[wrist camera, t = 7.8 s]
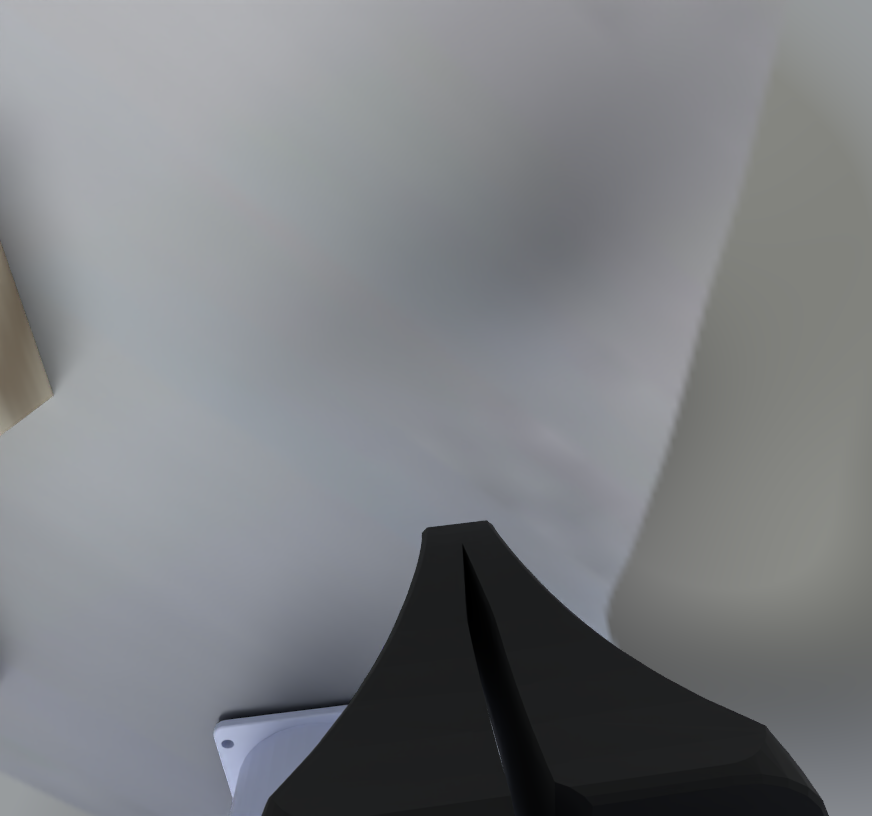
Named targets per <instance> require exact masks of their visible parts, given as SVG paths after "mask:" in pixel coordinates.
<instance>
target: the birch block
mask: <svg viewBox="0 0 872 816" xmlns="http://www.w3.org/2000/svg"><path fill="white" fill-rule="evenodd" d="M53 396H54V395H53V392H52V389H51V386H50V383H49V380H48V377H47V375H46V372H45V369H44V366H43V363H42V360H41V357H40V354H39V351H38V349H37V346H36V343H35V340H34V337H33V334H32V331H31V328H30V325H29V323H28V320H27V317H26V314H25V311H24V308H23V305H22V302H21V299H20V297H19V294H18V291H17V288H16V285H15V282H14V279H13V276H12V273H11V271H10V268H9V265H8V262H7V259H6V256H5V253H4V250H3V247H2V244H1V242H0V436H1V435H2V434H4V433H5V432H6V431H8V430H9V429H10V428H12V427H13V426H14V425H16V424H17V423H18V422H20V421H21V420H22V419H23V418H25V417H26V416H27V415H29V414H30V413H31V412H33V411H34V410H35V409H37V408H38V407H39V406H41V405H42V404H43V403H45V402H46V401H47V400H49V399H50V398H51V397H53Z"/></svg>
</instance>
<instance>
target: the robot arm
mask: <svg viewBox="0 0 872 816" xmlns="http://www.w3.org/2000/svg"><path fill="white" fill-rule="evenodd" d="M487 709H488V710H487ZM488 713H489V714H488ZM489 717H490V718H489ZM490 720H491V722H490ZM491 724H492V726H491ZM492 727H493V730H492ZM493 731H494V733H493ZM494 735H495V737H494ZM213 736H214V740H215V743H216V746H217V749H218V753H219V756H220V759H221V762H222V765H223V769H224V772H225V775H226V778H227V782H228V785H229V788H230V791H231V794H232V798H233V801H232V806H231V810H230V815H229V816H829V815H828V813H827V810H826V808H825V805H824V803H823V800H822V799H821V798H820V796H819V794H818V793H817V791H816V790H815V789H814V787H813V786H812V784H811V783H810V781H809V780H808V779H807V777H806V775H805V774H804V773H803V771H802V770H801V769H800V767H799V766H798V765H797V764H796V762H795V761H794V760H793V758H792V757H791V756H790V754H789V753H788V752H787V751H786V750H785V749H784V748H783V746H782V745H781V744H780V743H779V741H778V740H777V739H776V738H775V737H774V736H773V734H772V733H771V732H770V731H769V729H768V728H767V727H766V726H765V725H763V724H760V723H758V722H756V721H754V720H752V719H750V718H747V717H745V716H743V715H741V714H738V713H736V712H734V711H732V710H729V709H727V708H725V707H723V706H720V705H718V704H716V703H714V702H712V701H709V700H707V699H705V698H703V697H701V696H699V695H697V694H695V693H693V692H691V691H689V690H688V689H686V688H684V687H682V686H680V685H678V684H677V683H675V682H673V681H671V680H669V679H667V678H665V677H664V676H662V675H660V674H658V673H657V672H655V671H653V670H652V669H650V668H648V667H647V666H645V665H644V664H642V663H641V662H639V661H637V660H636V659H634V658H633V657H631V656H629V655H628V654H626V653H625V652H623V651H622V650H620V649H619V648H617V647H616V646H614V645H613V644H612V643H610V642H609V641H607V640H606V639H605V638H603V637H602V636H601V635H599V634H598V633H597V632H595V631H594V630H593V629H592V628H590V627H589V626H588V625H586V624H585V623H584V622H583V621H582V620H580V619H579V618H578V617H577V616H576V615H575V614H573V613H572V612H571V611H570V610H569V609H568V608H566V607H565V606H564V605H563V604H562V603H561V602H560V601H559V600H558V599H557V598H556V597H555V596H554V595H552V594H551V593H550V592H549V591H548V590H547V589H546V588H545V587H544V586H543V585H542V584H541V583H540V582H539V581H538V579H537V578H536V577H535V576H534V575H533V574H532V573H531V572H530V571H529V570H528V569H527V568H526V567H525V566H524V565H523V563H522V562H521V561H520V560H519V559H518V558H517V557H516V555H515V554H514V553H513V552H512V551H511V549H510V548H509V547H508V546H507V544H506V543H505V542H504V541H503V539H502V538H501V537H500V535H499V534H498V533H497V531H496V530H495V528H494V527H493V525H492V524H491V523H489V522H488V521H487V520H486V521H477V522H469V523H461V524H453V525H445V526H437V527H428V528H426V529H425V530H424V532H423V533H422V543H421V550H420V555H419V559H418V563H417V567H416V570H415V573H414V576H413V579H412V582H411V585H410V588H409V591H408V594H407V597H406V599H405V602H404V604H403V606H402V609H401V611H400V613H399V616H398V618H397V620H396V623H395V625H394V627H393V629H392V631H391V634H390V636H389V638H388V640H387V642H386V643H385V645H384V647H383V649H382V651H381V653H380V655H379V656H378V658H377V660H376V662H375V664H374V665H373V667H372V669H371V670H370V672H369V673H368V675H367V677H366V678H365V680H364V681H363V683H362V684H361V686H360V688H359V689H358V691H357V692H356V694H355V695H354V697H353V698H352V700H351V701H350V703H349V704H348V705H342V706H334V707H326V708H318V709H310V710H302V711H294V712H286V713H278V714H270V715H262V716H253V717H245V718H237V719H229V720H223V721H220V722H219V723H217V724H216V726H215V729H214V733H213ZM495 738H496V741H495ZM496 742H497V744H496ZM497 745H498V748H497ZM498 749H499V752H498ZM499 753H500V755H499ZM500 757H501V759H500ZM501 761H502V763H501ZM502 765H503V766H502ZM503 769H504V770H503Z"/></svg>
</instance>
